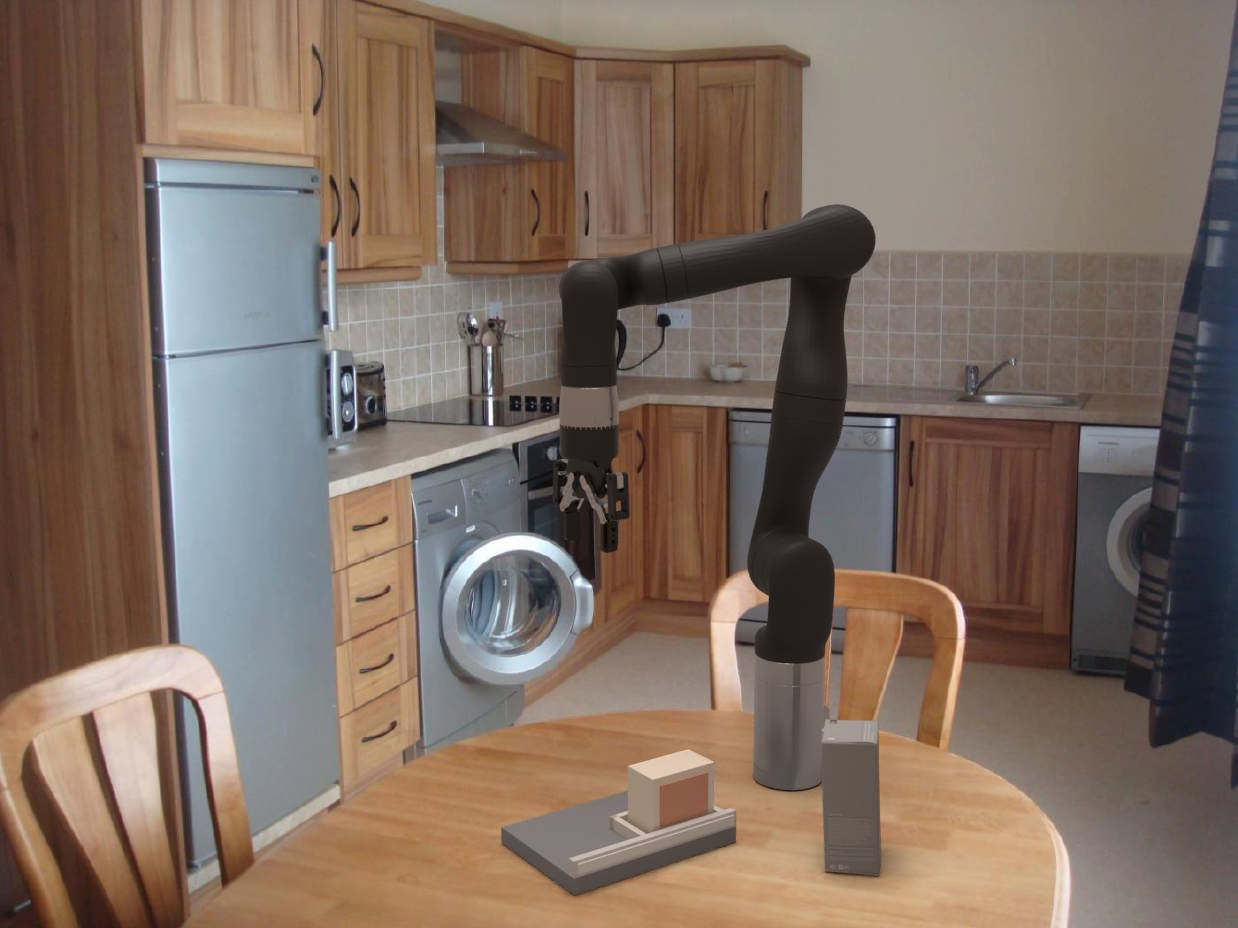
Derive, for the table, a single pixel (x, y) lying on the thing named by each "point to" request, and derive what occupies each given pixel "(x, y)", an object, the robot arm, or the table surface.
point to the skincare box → (851, 796)
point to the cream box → (670, 790)
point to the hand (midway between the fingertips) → (590, 545)
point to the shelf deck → (610, 842)
